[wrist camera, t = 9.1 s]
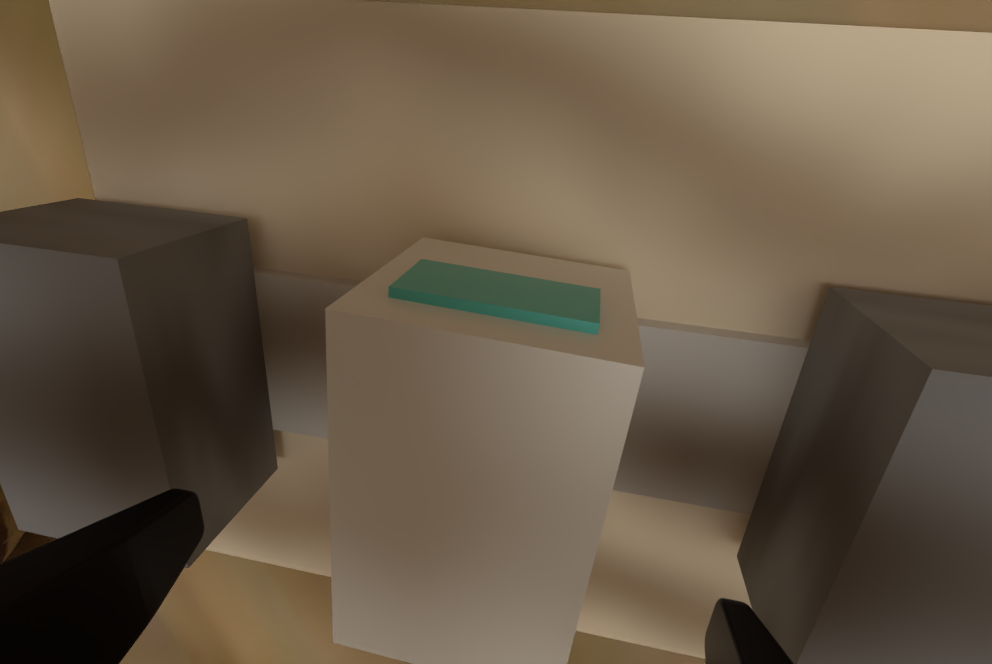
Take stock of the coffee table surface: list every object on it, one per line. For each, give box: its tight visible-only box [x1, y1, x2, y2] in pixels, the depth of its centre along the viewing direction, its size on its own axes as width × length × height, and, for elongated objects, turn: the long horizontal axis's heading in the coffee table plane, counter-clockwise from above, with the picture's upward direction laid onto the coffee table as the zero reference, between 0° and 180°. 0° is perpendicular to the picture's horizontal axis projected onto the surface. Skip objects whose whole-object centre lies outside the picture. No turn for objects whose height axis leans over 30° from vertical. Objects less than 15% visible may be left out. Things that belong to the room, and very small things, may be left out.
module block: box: [325, 237, 644, 664], centre depth 12 cm, size 8×5×5 cm, turn 173°
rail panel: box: [0, 0, 992, 664], centre depth 13 cm, size 18×24×6 cm
